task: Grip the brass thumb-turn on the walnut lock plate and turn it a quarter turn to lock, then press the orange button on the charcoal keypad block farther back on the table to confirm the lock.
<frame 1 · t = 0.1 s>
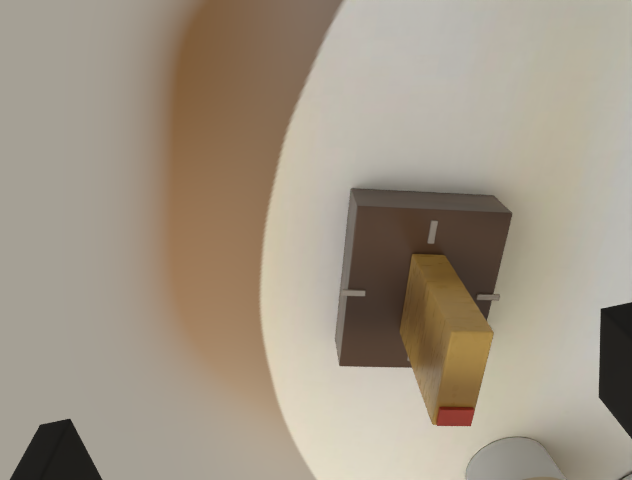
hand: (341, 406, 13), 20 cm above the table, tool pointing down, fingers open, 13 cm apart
coffee cup: (506, 467, 44), on the table
lock knob: (439, 333, 29), point 7 cm above the table, hinge at 0.0°
lock plate: (410, 271, 35), on the table
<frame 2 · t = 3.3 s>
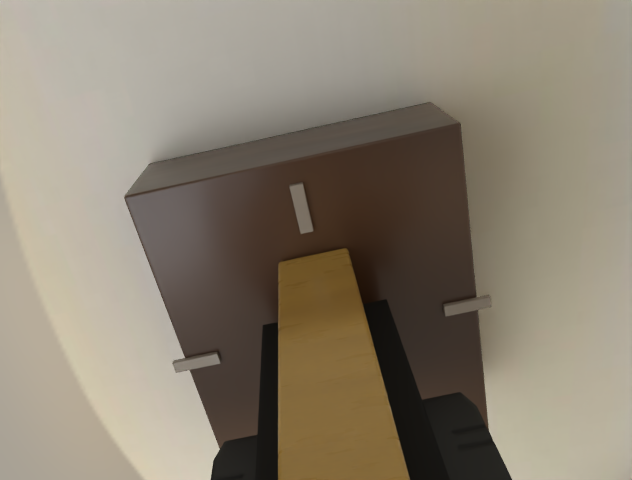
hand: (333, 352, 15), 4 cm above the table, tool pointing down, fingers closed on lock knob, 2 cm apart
lock knob: (346, 435, 13), point 7 cm above the table, hinge at -0.1°, touching gripper
lock plate: (323, 284, 19), on the table
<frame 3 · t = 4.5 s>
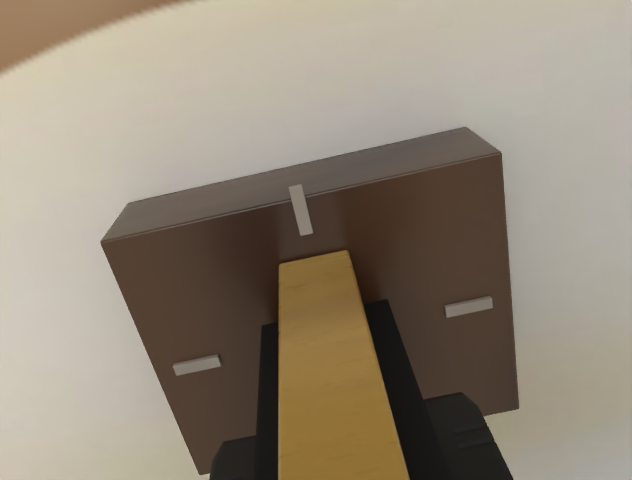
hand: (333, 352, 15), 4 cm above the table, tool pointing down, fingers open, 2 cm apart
lock knob: (347, 438, 12), point 7 cm above the table, hinge at 89.5°
lock plate: (324, 285, 19), on the table
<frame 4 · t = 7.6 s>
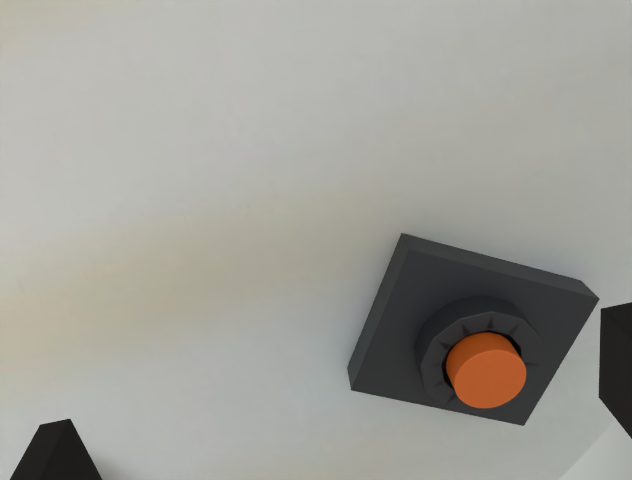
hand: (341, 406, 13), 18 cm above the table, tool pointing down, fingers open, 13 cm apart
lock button: (485, 370, 30), point 4 cm above the table, slide at 0.1 cm
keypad: (461, 325, 34), on the table
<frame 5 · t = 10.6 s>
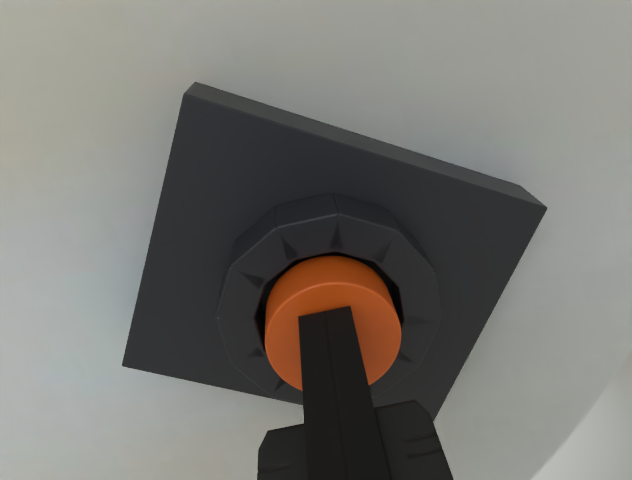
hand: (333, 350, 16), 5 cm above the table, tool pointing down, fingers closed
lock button: (331, 325, 16), point 4 cm above the table, slide at 0.0 cm, touching gripper
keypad: (321, 261, 20), on the table
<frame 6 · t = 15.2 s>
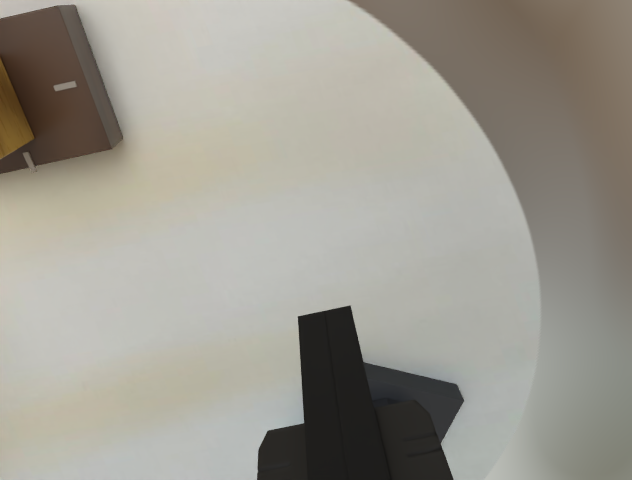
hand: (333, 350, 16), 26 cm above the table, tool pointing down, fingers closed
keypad: (377, 411, 51), on the table
lock plate: (23, 92, 37), on the table
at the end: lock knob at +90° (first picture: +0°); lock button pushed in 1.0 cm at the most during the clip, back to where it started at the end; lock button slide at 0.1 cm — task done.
